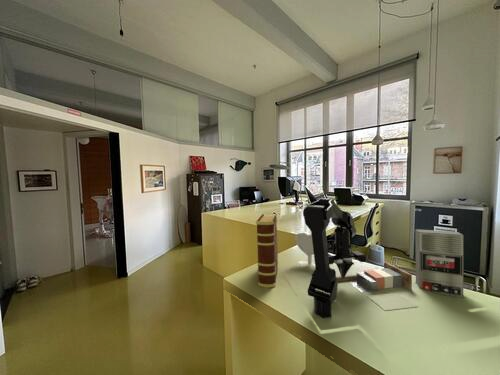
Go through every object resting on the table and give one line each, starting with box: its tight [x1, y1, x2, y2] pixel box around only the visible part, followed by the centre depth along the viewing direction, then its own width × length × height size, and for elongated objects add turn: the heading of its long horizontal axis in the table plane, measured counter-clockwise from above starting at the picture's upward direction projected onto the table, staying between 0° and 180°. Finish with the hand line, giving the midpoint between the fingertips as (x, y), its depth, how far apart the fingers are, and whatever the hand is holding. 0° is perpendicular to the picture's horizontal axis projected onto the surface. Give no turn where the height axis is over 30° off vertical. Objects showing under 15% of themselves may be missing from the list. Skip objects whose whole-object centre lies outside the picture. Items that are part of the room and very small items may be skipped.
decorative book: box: [255, 213, 279, 289], centre depth 102 cm, size 22×8×30 cm, turn 168°
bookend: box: [349, 271, 379, 293], centre depth 88 cm, size 9×7×4 cm
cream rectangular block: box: [372, 268, 394, 289], centre depth 89 cm, size 7×4×6 cm, turn 8°
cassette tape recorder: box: [414, 229, 466, 299], centre depth 83 cm, size 14×6×25 cm, turn 64°
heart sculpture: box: [294, 231, 315, 268], centre depth 115 cm, size 16×5×18 cm, turn 54°
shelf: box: [336, 261, 413, 291], centre depth 88 cm, size 13×33×8 cm, turn 98°
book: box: [380, 268, 403, 288], centre depth 90 cm, size 7×4×6 cm, turn 8°
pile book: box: [366, 292, 419, 312], centre depth 76 cm, size 9×13×2 cm
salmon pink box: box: [363, 269, 386, 290], centre depth 88 cm, size 7×4×6 cm, turn 8°
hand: (342, 277), depth 88 cm, fingers closed
